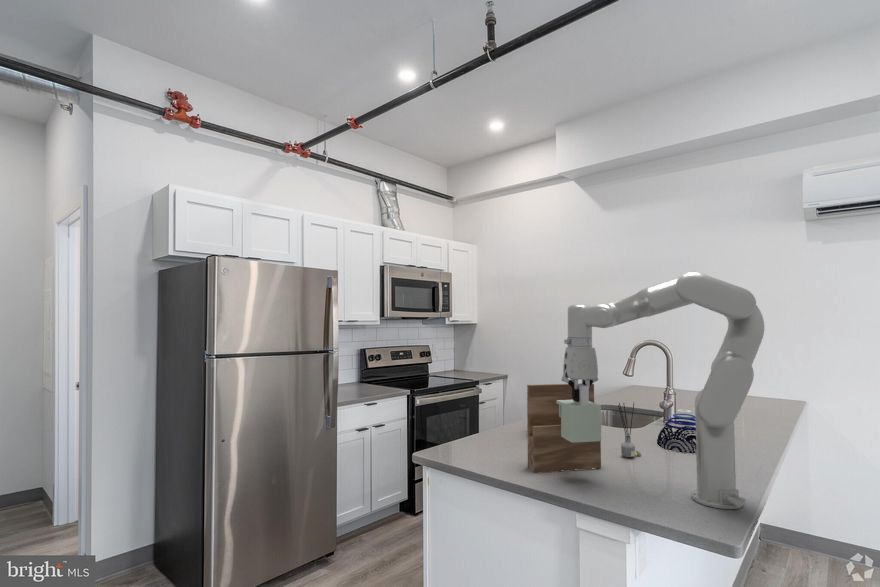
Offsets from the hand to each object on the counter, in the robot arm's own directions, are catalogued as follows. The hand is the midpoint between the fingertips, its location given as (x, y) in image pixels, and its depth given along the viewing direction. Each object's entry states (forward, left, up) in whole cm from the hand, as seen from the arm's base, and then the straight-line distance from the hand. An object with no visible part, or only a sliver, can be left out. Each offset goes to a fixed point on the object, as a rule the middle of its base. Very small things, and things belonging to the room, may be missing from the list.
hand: (580, 400), depth 151 cm
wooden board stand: (+12, 0, -25) cm, 28 cm away
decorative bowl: (+27, -59, -25) cm, 70 cm away
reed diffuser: (+20, -29, -25) cm, 43 cm away
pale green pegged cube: (+1, 0, -12) cm, 12 cm away
